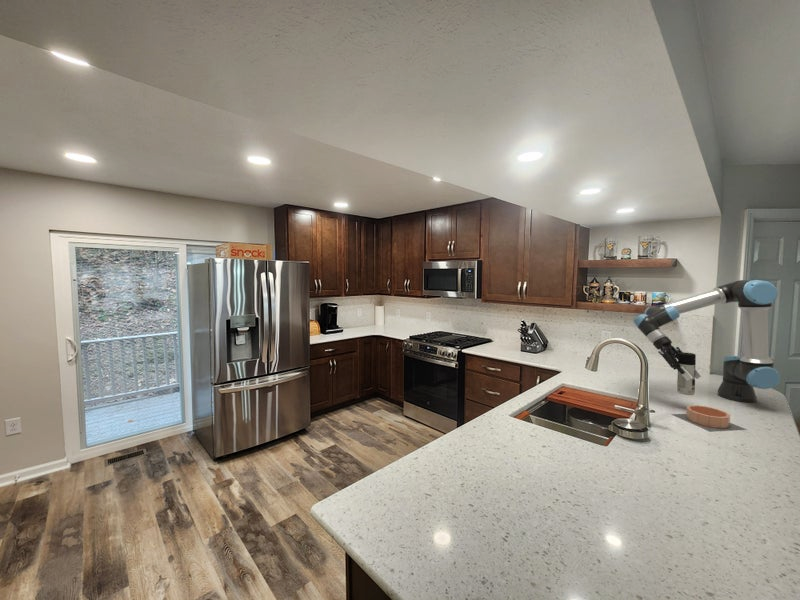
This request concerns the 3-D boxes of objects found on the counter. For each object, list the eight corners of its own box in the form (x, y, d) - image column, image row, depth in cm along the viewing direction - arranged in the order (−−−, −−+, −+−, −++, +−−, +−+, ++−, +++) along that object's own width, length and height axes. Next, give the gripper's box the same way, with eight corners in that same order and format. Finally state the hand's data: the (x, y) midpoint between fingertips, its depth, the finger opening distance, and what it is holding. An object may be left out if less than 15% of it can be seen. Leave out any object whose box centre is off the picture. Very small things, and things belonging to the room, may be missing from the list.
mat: (704, 413, 159) (704, 412, 159) (747, 430, 141) (747, 429, 141) (670, 415, 157) (670, 414, 157) (709, 433, 140) (709, 431, 140)
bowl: (705, 414, 157) (705, 404, 157) (738, 427, 143) (738, 416, 143) (678, 415, 156) (679, 405, 155) (709, 429, 142) (709, 418, 141)
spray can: (695, 396, 160) (697, 355, 159) (677, 393, 164) (678, 353, 163) (693, 392, 165) (695, 353, 164) (676, 390, 169) (677, 351, 168)
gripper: (665, 342, 181) (700, 379, 167) (641, 345, 174) (675, 384, 160) (676, 334, 176) (713, 372, 161) (652, 337, 169) (688, 376, 154)
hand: (694, 378), depth 161 cm, fingers closed on spray can, 7 cm apart
